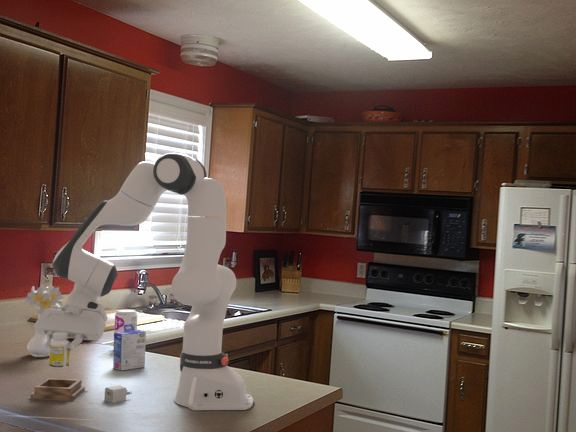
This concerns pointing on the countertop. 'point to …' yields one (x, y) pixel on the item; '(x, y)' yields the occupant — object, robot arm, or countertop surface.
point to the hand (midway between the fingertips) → (58, 348)
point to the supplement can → (125, 319)
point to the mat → (63, 400)
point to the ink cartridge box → (129, 349)
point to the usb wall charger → (116, 394)
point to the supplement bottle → (59, 351)
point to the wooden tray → (58, 389)
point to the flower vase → (43, 302)
